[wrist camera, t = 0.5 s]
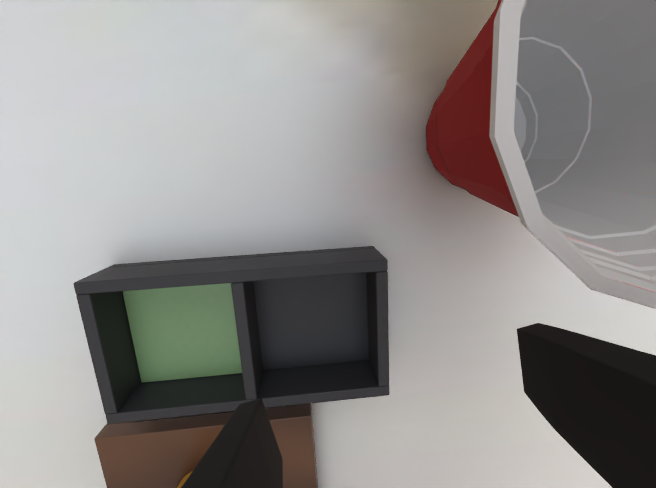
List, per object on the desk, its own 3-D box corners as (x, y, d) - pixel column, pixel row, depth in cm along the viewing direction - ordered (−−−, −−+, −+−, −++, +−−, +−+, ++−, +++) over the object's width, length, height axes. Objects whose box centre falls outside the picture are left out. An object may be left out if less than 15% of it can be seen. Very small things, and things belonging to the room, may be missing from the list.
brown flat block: (320, 515, 22) (321, 548, 20) (145, 537, 21) (128, 574, 19) (310, 392, 20) (311, 415, 18) (115, 411, 19) (93, 438, 17)
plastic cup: (366, 226, 18) (456, 308, 6) (391, 17, 16) (604, -481, 4) (547, 243, 18) (963, 352, 6) (594, 43, 16) (1329, -337, 4)
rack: (376, 362, 20) (389, 395, 17) (139, 384, 19) (106, 424, 16) (373, 245, 18) (387, 259, 15) (113, 264, 17) (72, 282, 14)
